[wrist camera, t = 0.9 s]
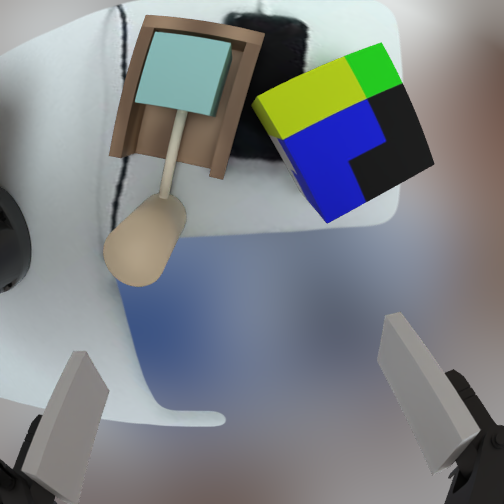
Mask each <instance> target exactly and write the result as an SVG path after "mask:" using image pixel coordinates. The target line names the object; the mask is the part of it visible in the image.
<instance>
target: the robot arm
mask: <svg viewBox="0 0 504 504" xmlns="http://www.w3.org/2000/svg"><path fill="white" fill-rule="evenodd" d="M30 258H31V247H30V239H29V234H28V230H27V226H26V223H25V220H24V218H23V215H22V213H21V211H20V209H19V207H18V206H17V204H16V203H15V201H14V200H13V198H12V197H11V196H10V195H9V194H8V193H7V192H6V191H5V190H4V189H3V188H1V187H0V293H3V292H6V291H8V290H10V289H12V288H13V287H15V286H16V285H17V284H18V283H19V282H20V281H21V280H22V279H23V278H24V276H25V275H26V273H27V271H28V268H29V264H30ZM377 361H378V363H379V365H380V367H381V369H382V371H383V373H384V375H385V377H386V379H387V381H388V382H389V385H390V387H391V389H392V391H393V392H394V394H395V397H396V398H397V401H398V403H399V405H400V407H401V409H402V411H403V413H404V415H405V417H406V419H407V421H408V423H409V425H410V427H411V429H412V432H413V433H414V435H415V437H416V440H417V442H418V444H419V446H420V449H421V451H422V453H423V455H424V458H425V460H426V462H427V464H428V466H429V469H430V471H431V473H432V475H434V474H437V473H439V472H441V471H443V470H445V469H447V468H449V467H450V466H451V465H452V464H453V463H454V462H455V461H456V463H457V465H458V466H457V467H456V468H455V469H454V470H453V471H452V472H451V473H450V475H449V477H448V478H451V477H452V476H453V475H454V477H453V480H452V484H451V486H450V490H449V492H448V495H447V498H446V501H445V503H444V504H504V426H502V425H497V424H496V423H495V422H494V421H493V419H492V418H491V417H490V415H489V413H488V412H487V410H486V408H485V407H484V405H483V404H482V402H481V401H480V399H479V398H478V396H477V395H475V392H474V390H473V389H472V388H470V385H469V383H468V382H467V381H466V379H465V378H464V376H462V375H461V374H460V373H458V372H457V371H455V370H454V369H453V370H451V371H448V372H446V373H444V372H443V370H442V369H441V367H440V366H439V365H438V363H437V362H436V360H435V359H434V357H433V356H432V354H431V353H430V352H429V350H428V349H427V347H426V346H425V345H424V343H423V342H422V341H421V339H420V338H419V336H418V335H417V333H416V332H415V331H414V329H413V328H412V327H411V325H410V324H409V323H408V321H407V320H406V319H405V317H404V316H403V315H402V313H401V312H398V313H394V314H389V315H386V316H385V320H384V326H383V332H382V337H381V343H380V348H379V353H378V358H377ZM108 394H109V389H108V388H107V386H106V384H105V383H104V381H103V380H102V378H101V376H100V374H99V373H98V371H97V369H96V368H95V366H94V364H93V362H92V361H91V359H90V357H89V355H88V353H87V352H86V351H73V353H72V355H71V357H70V359H69V361H68V363H67V365H66V367H65V369H64V371H63V373H62V375H61V377H60V379H59V381H58V383H57V385H56V387H55V389H54V391H53V393H52V396H51V398H50V400H49V402H48V404H47V407H46V409H45V411H44V414H43V415H38V416H37V417H36V418H35V419H34V421H33V422H32V423H31V426H30V428H29V430H28V434H27V435H26V437H25V442H23V445H22V447H21V450H20V452H19V455H18V457H17V460H16V463H15V466H14V468H13V469H11V468H10V467H9V466H8V465H7V464H5V463H4V462H3V461H2V460H0V504H57V503H56V502H55V501H54V499H55V496H56V497H57V498H59V499H60V500H62V501H63V502H67V503H70V504H79V499H80V495H81V490H82V486H83V482H84V478H85V474H86V470H87V466H88V462H89V458H90V454H91V451H92V447H93V443H94V440H95V436H96V433H97V430H98V426H99V423H100V420H101V416H102V413H103V410H104V407H105V404H106V400H107V397H108Z"/></svg>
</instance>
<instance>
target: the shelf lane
mask: <svg viewBox="0 0 504 504" xmlns="http://www.w3.org/2000/svg"><path fill="white" fill-rule="evenodd" d="M155 32H163V33H172V34H180V35H187V36H194V37H201V38H207V39H212V40H218V41H223V42H228V43H231V49H232V62H231V65H230V69H229V72H228V75H227V79H226V82H225V85H224V89H223V92H222V96H221V99H220V103H219V106H218V110H217V114H216V117H212V116H208V115H203V114H198V113H193V112H188V111H187V112H188V114H187V118H186V122H185V126H184V130H183V134H182V138H181V142H180V146H179V151H178V155H177V159H176V161H178V162H182V163H187V164H191V165H196V166H200V167H205V168H209V169H211V170H210V174H209V177H214V178H218V179H222V180H223V178H224V174H225V171H226V167H227V163H228V159H229V155H230V152H231V148H232V144H233V140H234V137H235V133H236V130H237V126H238V122H239V119H240V115H241V112H242V108H243V105H244V101H245V98H246V94H247V91H248V88H249V84H250V81H251V78H252V74H253V71H254V68H255V65H256V61H257V58H258V55H259V52H260V49H261V45H262V42H263V39H264V35H265V34H264V33H260V32H256V31H252V30H248V29H243V28H239V27H234V26H229V25H224V24H219V23H213V22H207V21H200V20H194V19H186V18H177V17H168V16H156V15H146V16H145V19H144V22H143V24H142V27H141V30H140V33H139V36H138V39H137V42H136V45H135V48H134V51H133V55H132V58H131V61H130V65H129V68H128V72H127V75H126V79H125V83H124V87H123V91H122V95H121V99H120V103H119V107H118V112H117V116H116V121H115V126H114V131H113V136H112V141H111V147H110V153H109V156H112V157H118V158H123V157H125V156H128V155H131V154H134V153H138V154H143V155H148V156H153V157H158V158H163V159H166V156H167V151H168V147H169V142H170V138H171V134H172V130H173V125H174V121H175V117H176V113H177V110H178V109H172V108H167V107H161V106H155V105H149V104H143V103H137V102H135V99H136V95H137V91H138V87H139V84H140V80H141V76H142V73H143V69H144V66H145V62H146V59H147V56H148V53H149V49H150V46H151V43H152V40H153V37H154V34H155Z"/></svg>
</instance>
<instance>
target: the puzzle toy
mask: <svg viewBox="0 0 504 504" xmlns="http://www.w3.org/2000/svg"><path fill="white" fill-rule="evenodd" d="M251 106H252V108H253V110H254V111H255V113H256V115H257V116H258V118H259V120H260V121H261V123H262V125H263V126H264V128H265V130H266V131H267V133H268V135H269V136H270V138H271V140H272V142H273V143H274V145H275V147H276V149H277V150H278V152H279V154H280V156H281V157H282V159H283V161H284V163H285V165H286V166H287V168H288V170H289V172H290V174H291V175H292V177H293V179H294V181H295V183H296V185H297V186H298V188H299V190H300V192H301V193H302V194H303V196H304V197H305V198H306V199H307V200H308V201H309V203H310V204H311V205H312V206H313V207H314V209H315V210H316V211H317V212H318V213H319V215H320V216H321V217H322V218H323V219H324V221H325V222H326V223H327V224H328V223H329V222H331V221H333V220H335V219H337V218H339V217H340V216H342V215H344V214H346V213H348V212H350V211H351V210H353V209H355V208H357V207H359V206H360V205H362V204H364V203H366V202H368V201H370V200H371V199H373V198H375V197H377V196H379V195H380V194H382V193H384V192H386V191H388V190H389V189H391V188H393V187H395V186H397V185H398V184H400V183H402V182H404V181H406V180H407V179H409V178H411V177H413V176H415V175H416V174H418V173H420V172H422V171H424V170H425V169H427V168H429V167H431V166H432V165H434V161H433V158H432V155H431V152H430V150H429V146H428V144H427V141H426V138H425V135H424V133H423V130H422V128H421V125H420V123H419V120H418V117H417V115H416V112H415V110H414V108H413V105H412V103H411V101H410V98H409V96H408V94H407V92H406V89H405V87H404V85H403V83H402V81H401V79H400V77H399V75H398V73H397V71H396V69H395V67H394V65H393V63H392V61H391V59H390V57H389V55H388V53H387V51H386V50H385V48H384V46H383V44H382V42H381V43H378V44H376V45H373V46H370V47H367V48H364V49H362V50H359V51H356V52H354V53H351V54H349V55H346V56H343V57H341V58H338V59H336V60H334V61H331V62H329V63H326V64H324V65H322V66H319V67H317V68H315V69H313V70H310V71H308V72H306V73H304V74H302V75H299V76H297V77H295V78H293V79H291V80H289V81H287V82H285V83H283V84H281V85H279V86H277V87H275V88H273V89H271V90H269V91H267V92H265V93H263V94H261V95H259V96H257V97H256V99H255V100H254V102H253V103H252V105H251Z"/></svg>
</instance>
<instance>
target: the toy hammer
mask: <svg viewBox="0 0 504 504" xmlns="http://www.w3.org/2000/svg"><path fill="white" fill-rule="evenodd" d="M231 62H232V49H231V43H228V42H223V41H218V40H212V39H207V38H201V37H194V36H187V35H180V34H172V33H163V32H155V34H154V37H153V40H152V43H151V46H150V49H149V53H148V56H147V59H146V62H145V66H144V69H143V73H142V76H141V80H140V84H139V87H138V91H137V95H136V99H135V102H137V103H143V104H149V105H155V106H161V107H167V108H172V109H178V110H177V113H176V117H175V121H174V125H173V130H172V134H171V138H170V142H169V147H168V151H167V156H166V161H165V165H164V170H163V175H162V180H161V185H160V191H159V193H157V194H154V195H152V196H150V197H149V198H147V199H146V200H145V201H144V202H143V203H142V204H141V205H140V206H139V207H138V208H136V209H135V210H134V211H133V212H132V213H131V214H130V215H129V216H128V217H127V218H126V219H125V220H124V221H122V222H121V223H120V224H119V225H118V226H117V227H116V228H115V229H114V230H113V231H112V232H111V233H110V234H109V235H108V237H107V238H106V241H105V243H104V248H103V255H104V260H105V263H106V266H107V268H108V269H109V271H110V272H111V273H112V275H113V276H114V277H116V278H117V279H118V280H119V281H121V282H123V283H125V284H127V285H130V286H136V287H142V286H146V285H150V284H152V283H153V282H155V281H156V280H157V279H158V278H159V277H160V276H161V274H162V273H163V270H164V268H165V266H166V264H167V261H168V260H169V257H170V255H171V253H172V251H173V249H174V247H175V245H176V243H177V241H178V239H179V237H180V234H181V232H182V230H183V228H184V226H185V223H186V211H185V208H184V206H183V204H182V203H181V202H180V201H179V200H178V199H177V198H176V197H174V196H173V195H170V194H169V193H170V188H171V183H172V178H173V173H174V169H175V164H176V159H177V155H178V151H179V146H180V142H181V138H182V134H183V130H184V126H185V122H186V118H187V114H188V112H193V113H198V114H203V115H208V116H212V117H216V114H217V110H218V106H219V103H220V99H221V96H222V92H223V89H224V85H225V82H226V79H227V75H228V72H229V69H230V65H231ZM187 111H188V112H187Z"/></svg>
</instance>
